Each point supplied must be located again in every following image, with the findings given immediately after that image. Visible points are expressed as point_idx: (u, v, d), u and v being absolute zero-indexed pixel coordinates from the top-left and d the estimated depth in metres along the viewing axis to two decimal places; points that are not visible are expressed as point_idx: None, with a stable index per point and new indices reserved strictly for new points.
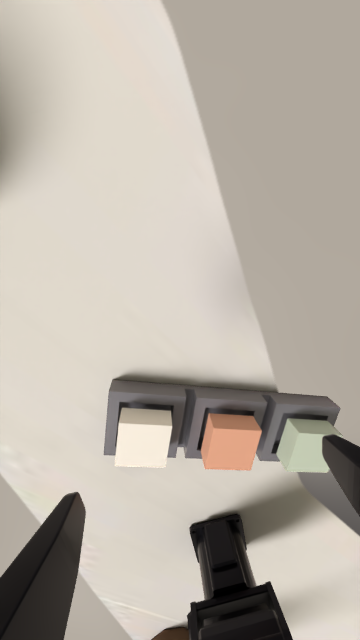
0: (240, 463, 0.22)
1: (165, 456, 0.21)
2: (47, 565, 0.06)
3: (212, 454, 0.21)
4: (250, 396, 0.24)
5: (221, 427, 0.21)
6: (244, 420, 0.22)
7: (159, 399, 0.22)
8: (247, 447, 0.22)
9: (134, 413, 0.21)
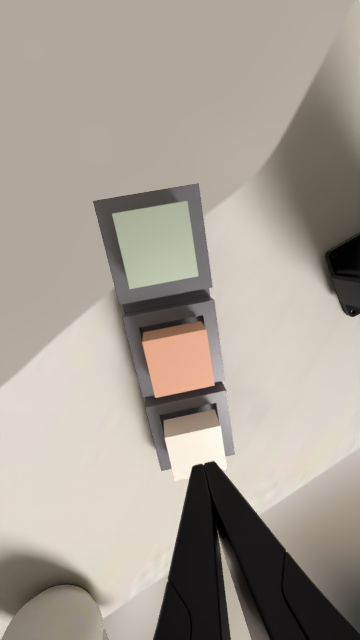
0: (197, 346, 0.17)
1: (205, 430, 0.19)
2: (214, 525, 0.06)
3: (191, 385, 0.17)
4: None
5: (153, 389, 0.17)
6: None
7: (156, 429, 0.21)
8: (171, 349, 0.16)
9: None
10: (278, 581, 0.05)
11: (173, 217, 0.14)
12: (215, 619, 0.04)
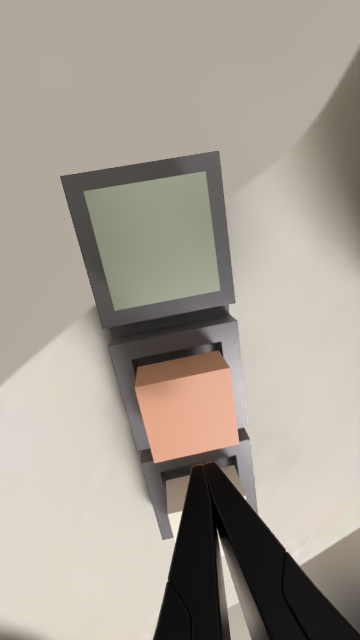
0: (216, 392, 0.11)
1: None
2: (214, 525, 0.06)
3: (206, 444, 0.12)
4: None
5: (151, 451, 0.12)
6: None
7: (156, 491, 0.16)
8: (178, 396, 0.11)
9: None
10: (278, 581, 0.05)
11: (183, 198, 0.09)
12: (215, 619, 0.04)
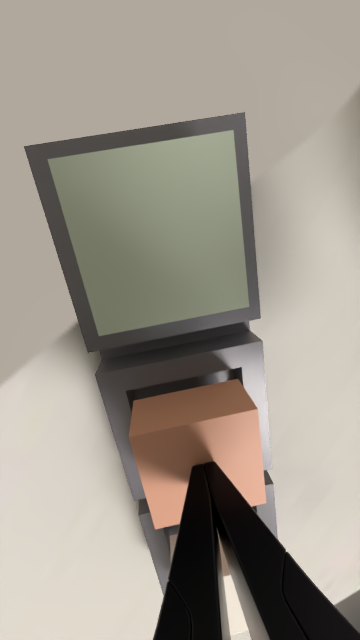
0: (238, 440, 0.08)
1: None
2: (213, 525, 0.06)
3: None
4: None
5: (151, 514, 0.09)
6: None
7: (157, 545, 0.13)
8: (187, 446, 0.08)
9: None
10: (278, 581, 0.05)
11: (198, 171, 0.06)
12: (215, 619, 0.04)
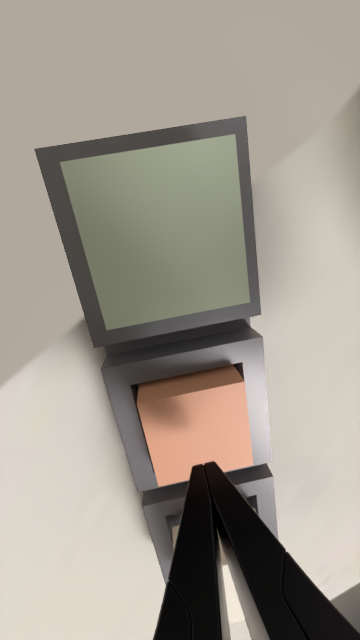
0: (228, 409, 0.10)
1: None
2: (214, 525, 0.06)
3: None
4: None
5: (155, 473, 0.11)
6: None
7: (160, 536, 0.13)
8: (186, 413, 0.10)
9: None
10: (278, 581, 0.05)
11: (202, 173, 0.06)
12: (215, 619, 0.04)
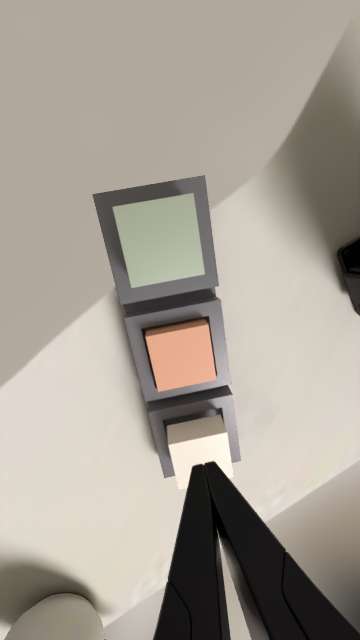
0: (199, 341, 0.17)
1: (211, 437, 0.18)
2: (214, 525, 0.06)
3: (194, 379, 0.18)
4: None
5: (156, 383, 0.18)
6: None
7: (159, 435, 0.20)
8: (174, 343, 0.17)
9: None
10: (278, 581, 0.05)
11: (178, 211, 0.13)
12: (215, 619, 0.04)
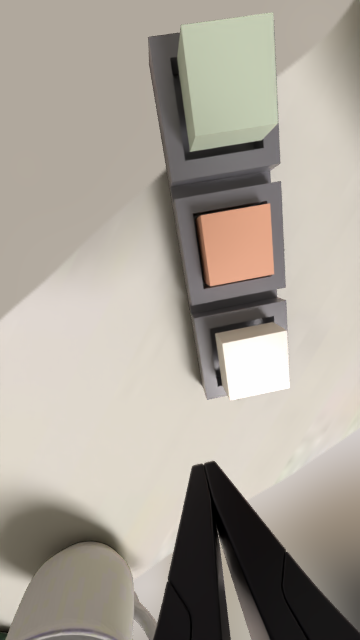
0: (259, 224, 0.15)
1: (269, 336, 0.16)
2: (213, 525, 0.06)
3: (250, 272, 0.16)
4: (177, 223, 0.16)
5: (208, 275, 0.16)
6: (199, 236, 0.16)
7: (205, 347, 0.18)
8: (231, 226, 0.15)
9: (222, 376, 0.18)
10: (278, 581, 0.05)
11: (254, 35, 0.11)
12: (215, 619, 0.04)
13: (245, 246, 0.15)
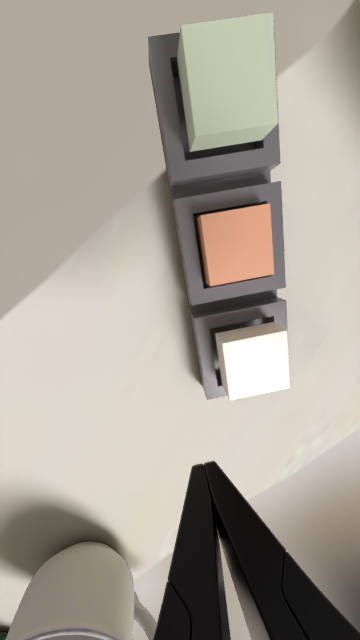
0: (259, 224, 0.15)
1: (269, 336, 0.16)
2: (213, 525, 0.06)
3: (250, 272, 0.16)
4: (177, 223, 0.16)
5: (208, 275, 0.16)
6: (199, 236, 0.16)
7: (205, 347, 0.18)
8: (231, 226, 0.15)
9: (222, 376, 0.18)
10: (278, 581, 0.05)
11: (254, 35, 0.11)
12: (215, 619, 0.04)
13: (245, 246, 0.15)
